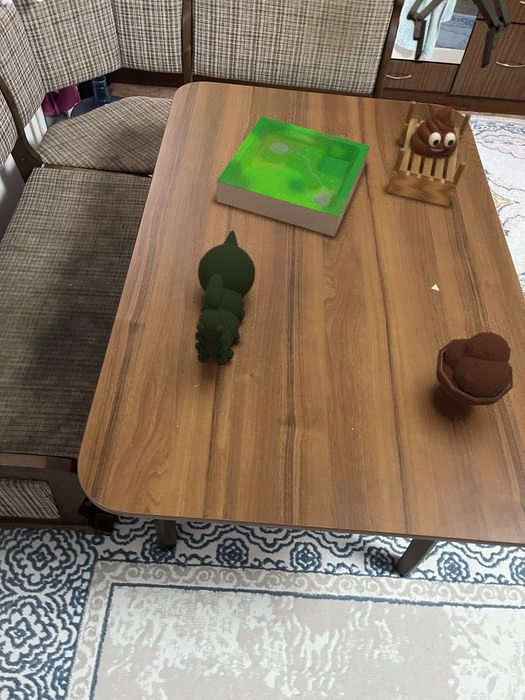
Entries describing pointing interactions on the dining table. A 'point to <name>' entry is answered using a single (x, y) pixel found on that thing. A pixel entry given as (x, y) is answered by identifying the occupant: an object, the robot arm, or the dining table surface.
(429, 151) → the poop emoji
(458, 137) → the brown wooden slatted frame
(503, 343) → the ice cream bowl
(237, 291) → the toy figurine
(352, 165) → the green terrain map board
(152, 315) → the dining table surface
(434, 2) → the robot arm
